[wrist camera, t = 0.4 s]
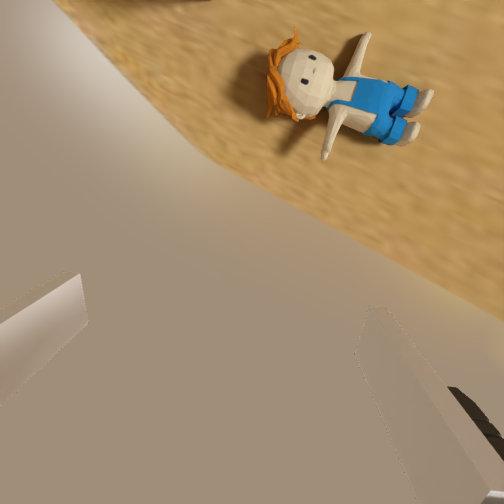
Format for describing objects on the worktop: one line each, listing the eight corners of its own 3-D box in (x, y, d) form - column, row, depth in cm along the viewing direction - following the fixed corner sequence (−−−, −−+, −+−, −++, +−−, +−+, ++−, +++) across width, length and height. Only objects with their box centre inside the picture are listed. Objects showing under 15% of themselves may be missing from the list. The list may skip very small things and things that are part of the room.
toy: (407, 177, 22) (243, 123, 22) (375, 186, 28) (246, 144, 28) (462, 34, 21) (288, -25, 20) (416, 76, 27) (281, 30, 27)
